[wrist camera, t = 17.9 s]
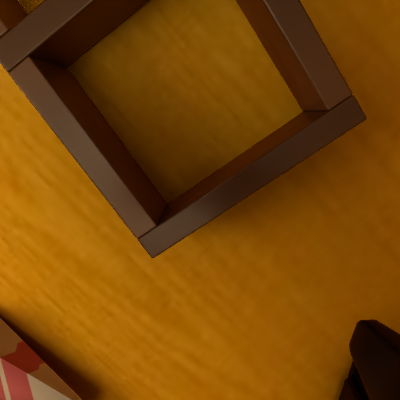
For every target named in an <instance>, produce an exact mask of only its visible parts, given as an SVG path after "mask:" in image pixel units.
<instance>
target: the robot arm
mask: <svg viewBox="0 0 400 400" xmlns="http://www.w3.org/2000/svg"><path fill="white" fill-rule="evenodd" d="M349 348H350V353H351V356H352V358H353V363H352V366H351V369H350V372H349V375H348V377H347V379H346V380H345V382H344V385H343V388H342V391H341V394H340V397H339V400H400V334H398V333H397V332H395V331H393V330H392V329H390V328H389V327H387V326H385V325H384V324H382V323H380V322H379V321H377V320H373V319H371V320H360V321H359V322H358V323H357V324H356V327H355V330H354V332H353V335H352V338H351V340H350V344H349Z"/></svg>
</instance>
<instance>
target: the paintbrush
mask: <svg viewBox="0 0 400 400" xmlns="http://www.w3.org/2000/svg"><path fill="white" fill-rule="evenodd" d="M0 400H82V399H81V398H80V397H79V396H78V395H77V394H76V393H75V392H74V391H73V390H72V389H71V388H70V387H69V386H68V385H67V384H66V383H65V382H64V381H63V380H62V379H61V378H60V377H59V376H58V375H57V374H56V373H55V372H54V371H53V370H52V369H51V368H50V367H49V366H48V365H47V364H46V363H45V362H44V361H43V360H42V359H41V358H40V357H39V356H38V355H37V354H36V353H35V352H34V351H33V350H32V349H31V348H30V347H29V346H28V345H27V344H26V343H25V342H24V341H23V340H22V339H21V338H20V337H19V336H18V335H17V334H16V333H15V332H14V331H13V330H12V329H11V328H10V327H9V326H8V325H7V324H6V323H5V322H4V321H3V320H2V319H1V318H0Z"/></svg>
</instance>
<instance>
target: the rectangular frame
mask: <svg viewBox="0 0 400 400" xmlns="http://www.w3.org/2000/svg"><path fill="white" fill-rule="evenodd" d="M149 1H150V0H44V1H43V2H42V3H41V4H40V5H39V6H37V7H36V8H35V9H34V10H33V11H32V12H30V13H29V14H28V15H27V13H26V12H25V11H24V9H23V8H22V7H21V5H20V4H19V3H18V1H17V0H0V63H1V64H2V66H3V67H4V68H5V69H6V71H7V72H9V75H10V76H11V77H12V79H13V80H14V81H15V83H16V84H17V85H18V86H19V88H20V89H21V90H22V92H23V93H24V94H25V95H26V97H27V98H28V99H29V101H30V102H31V103H32V104H33V106H34V107H35V108H36V110H37V111H38V112H39V113H40V115H41V116H42V117H43V119H44V120H45V121H46V122H47V124H48V125H49V126H50V128H51V129H52V130H53V131H54V133H55V134H56V135H57V137H58V138H59V139H60V140H61V142H62V143H63V144H64V146H65V147H66V148H67V149H68V151H69V152H70V153H71V155H72V156H73V157H74V158H75V160H76V161H77V162H78V164H79V165H80V166H81V167H82V169H83V170H84V171H85V173H86V174H87V175H88V176H89V178H90V179H91V180H92V182H93V183H94V184H95V185H96V187H97V188H98V189H99V191H100V192H101V193H102V194H103V196H104V197H105V198H106V200H107V201H108V202H109V203H110V205H111V206H112V207H113V209H114V210H115V211H116V212H117V214H118V215H119V216H120V218H121V219H122V220H123V221H124V223H125V224H126V225H127V227H128V228H129V229H130V230H131V232H132V233H133V234H134V236H135V237H136V238H137V239H138V241H139V242H140V243H141V245H142V246H143V247H144V248H145V250H146V251H147V252H148V254H149V255H150V256H151V257H152V258H154V257H156V256H158V255H159V254H161V253H162V252H164V251H165V250H167V249H168V248H170V247H171V246H173V245H174V244H176V243H177V242H179V241H181V240H182V239H184V238H185V237H187V236H188V235H190V234H191V233H193V232H194V231H196V230H197V229H199V228H200V227H202V226H204V225H205V224H207V223H208V222H210V221H211V220H213V219H214V218H216V217H217V216H219V215H220V214H222V213H223V212H225V211H226V210H228V209H230V208H231V207H233V206H234V205H236V204H237V203H239V202H240V201H242V200H243V199H245V198H246V197H248V196H249V195H251V194H253V193H254V192H256V191H257V190H259V189H260V188H262V187H263V186H265V185H266V184H268V183H269V182H271V181H272V180H274V179H276V178H277V177H279V176H280V175H282V174H283V173H285V172H286V171H288V170H289V169H291V168H292V167H294V166H295V165H297V164H299V163H300V162H302V161H303V160H305V159H306V158H308V157H309V156H311V155H312V154H314V153H315V152H317V151H318V150H320V149H322V148H323V147H325V146H326V145H328V144H329V143H331V142H332V141H334V140H335V139H337V138H338V137H340V136H341V135H343V134H345V133H346V132H348V131H349V130H351V129H352V128H354V127H355V126H357V125H358V124H360V123H361V122H363V121H364V120H366V116H365V114H364V113H363V111H362V109H361V107H360V106H359V104H358V102H357V100H356V98H355V97H354V96H353V95H352V92H351V90H350V88H349V87H348V85H347V83H346V81H345V80H344V78H343V76H342V74H341V73H340V71H339V69H338V67H337V66H336V64H335V62H334V60H333V58H332V57H331V55H330V53H329V51H328V50H327V48H326V46H325V44H324V43H323V41H322V39H321V37H320V36H319V34H318V32H317V30H316V29H315V27H314V25H313V23H312V22H311V20H310V18H309V16H308V14H307V13H306V11H305V9H304V7H303V6H302V4H301V2H300V0H236V1H237V3H238V4H239V6H240V8H241V9H242V11H243V13H244V14H245V16H246V18H247V19H248V21H249V22H250V24H251V26H252V27H253V29H254V31H255V32H256V34H257V36H258V37H259V39H260V41H261V42H262V44H263V46H264V47H265V49H266V51H267V52H268V54H269V55H270V57H271V59H272V60H273V62H274V64H275V65H276V67H277V69H278V70H279V72H280V74H281V75H282V77H283V79H284V80H285V82H286V84H287V85H288V87H289V88H290V90H291V92H292V93H293V95H294V97H295V98H296V100H297V102H298V103H299V105H300V107H301V108H302V110H303V111H304V112H303V113H301V114H300V115H298V116H297V117H295V118H294V119H292V120H291V121H289V122H288V123H286V124H285V125H283V126H282V127H280V128H279V129H278V130H276V131H275V132H273V133H272V134H270V135H269V136H267V137H266V138H264V139H263V140H261V141H260V142H258V143H257V144H255V145H254V146H252V147H251V148H250V149H248V150H247V151H245V152H244V153H242V154H241V155H239V156H238V157H236V158H235V159H233V160H232V161H230V162H229V163H227V164H226V165H224V166H223V167H222V168H220V169H219V170H217V171H216V172H214V173H213V174H211V175H210V176H208V177H207V178H205V179H204V180H202V181H201V182H199V183H198V184H196V185H195V186H194V187H192V188H191V189H189V190H188V191H186V192H185V193H183V194H182V195H180V196H179V197H177V198H176V199H174V200H173V201H171V202H170V203H168V204H167V203H166V202H165V200H164V199H163V198H162V196H161V195H160V193H159V192H158V191H157V189H156V188H155V187H154V185H153V184H152V183H151V181H150V180H149V179H148V177H147V176H146V175H145V173H144V172H143V170H142V169H141V168H140V166H139V165H138V164H137V162H136V161H135V160H134V158H133V157H132V156H131V154H130V153H129V151H128V150H127V149H126V147H125V146H124V145H123V143H122V142H121V141H120V139H119V138H118V137H117V135H116V134H115V133H114V131H113V130H112V128H111V127H110V126H109V124H108V123H107V122H106V120H105V119H104V118H103V116H102V115H101V114H100V112H99V111H98V110H97V108H96V107H95V105H94V104H93V103H92V101H91V100H90V99H89V97H88V96H87V95H86V93H85V92H84V91H83V89H82V88H81V87H80V85H79V84H78V82H77V81H76V80H75V78H74V77H73V76H72V74H71V73H70V72H69V70H68V69H67V67H68V66H69V65H70V64H72V63H73V62H74V61H75V60H77V59H78V58H79V57H80V56H81V55H83V54H84V53H85V52H86V51H88V50H89V49H90V48H91V47H93V46H94V45H95V44H96V43H98V42H99V41H100V40H101V39H103V38H104V37H105V36H106V35H108V34H109V33H110V32H111V31H113V30H114V29H115V28H116V27H118V26H119V25H120V24H121V23H122V22H124V21H125V20H126V19H127V18H129V17H130V16H131V15H132V14H134V13H135V12H136V11H137V10H139V9H140V8H141V7H142V6H144V5H145V4H146V3H147V2H149Z"/></svg>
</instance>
